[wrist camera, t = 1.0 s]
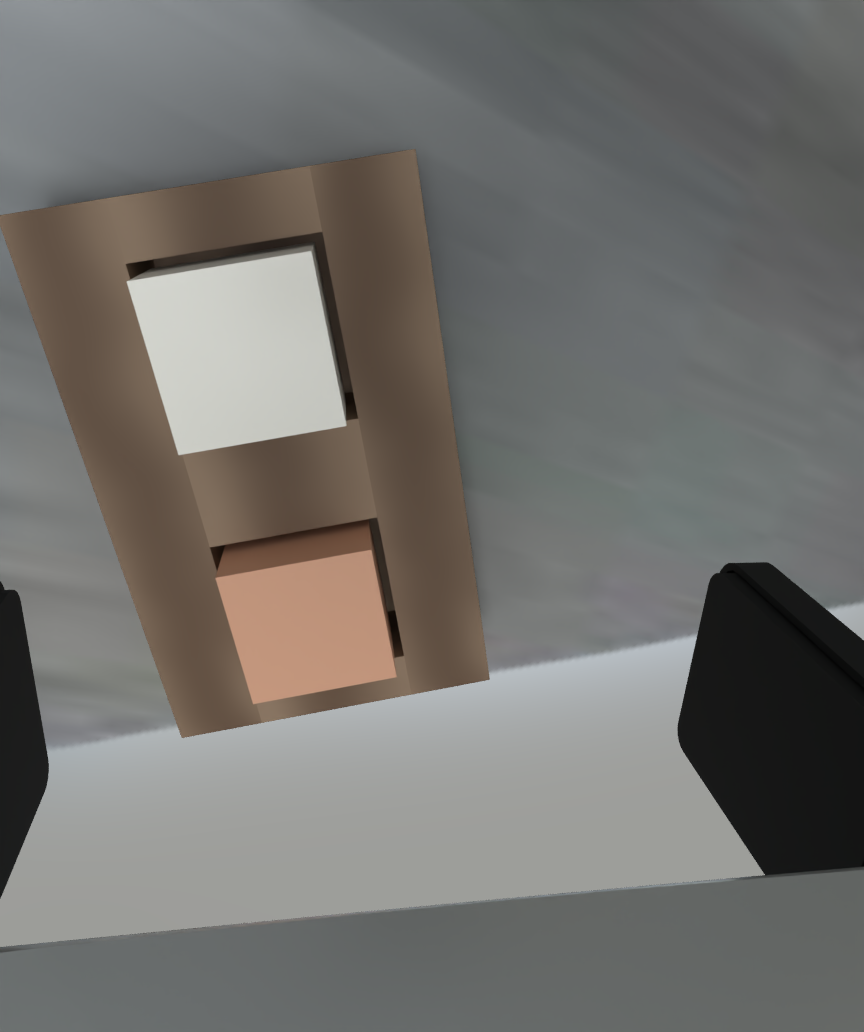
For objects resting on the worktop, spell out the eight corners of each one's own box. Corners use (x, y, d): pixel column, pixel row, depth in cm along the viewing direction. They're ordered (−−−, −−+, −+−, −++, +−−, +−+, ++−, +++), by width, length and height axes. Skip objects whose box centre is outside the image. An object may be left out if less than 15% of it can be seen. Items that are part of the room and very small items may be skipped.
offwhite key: (314, 242, 29) (311, 250, 25) (345, 399, 31) (346, 426, 28) (150, 268, 28) (126, 281, 25) (195, 425, 31) (178, 455, 28)
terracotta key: (367, 512, 33) (371, 549, 30) (391, 630, 36) (396, 677, 32) (227, 537, 33) (215, 577, 30) (260, 655, 35) (253, 704, 32)
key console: (403, 152, 31) (415, 148, 26) (472, 621, 40) (489, 679, 35) (47, 209, 30) (-4, 216, 26) (199, 672, 39) (181, 738, 35)
